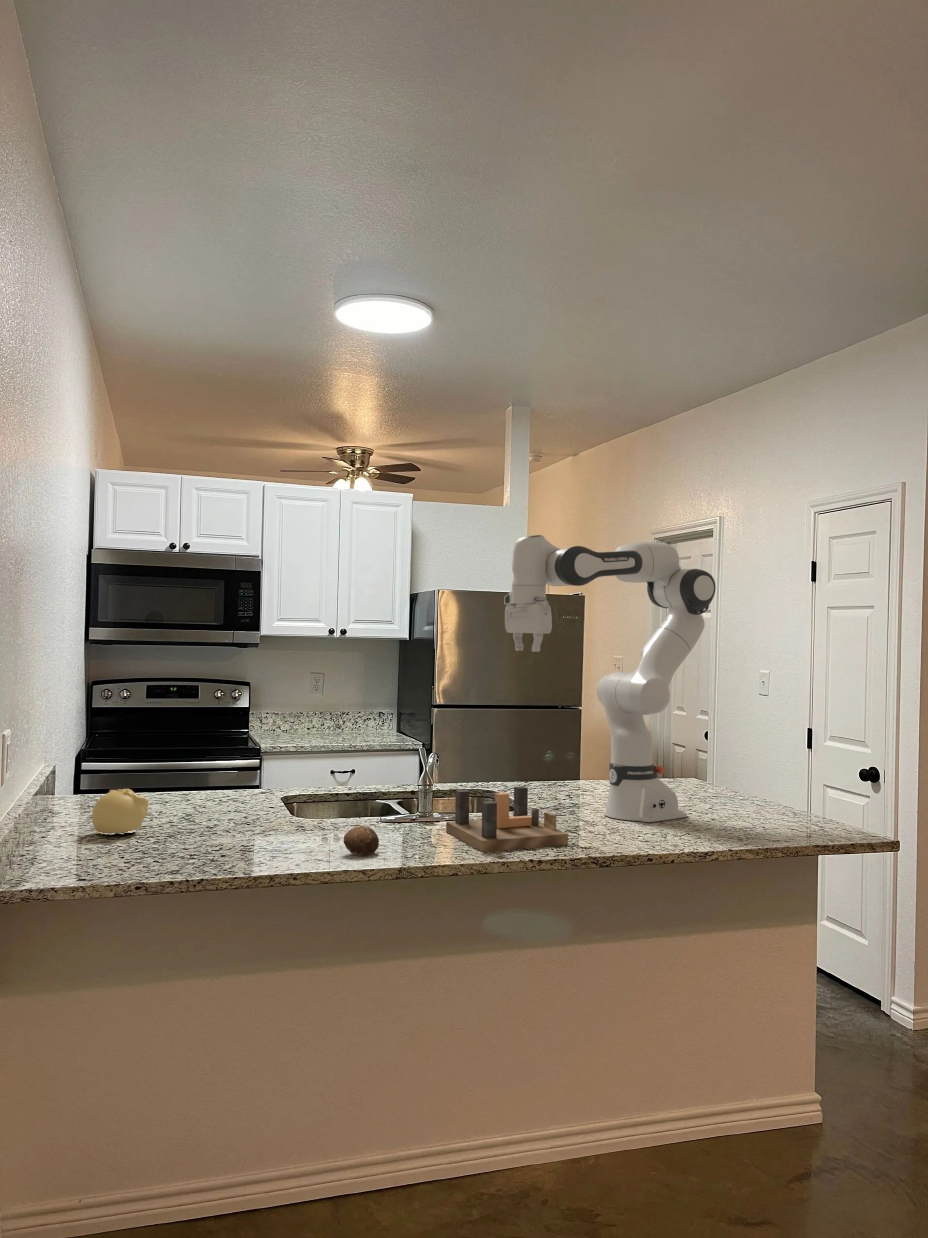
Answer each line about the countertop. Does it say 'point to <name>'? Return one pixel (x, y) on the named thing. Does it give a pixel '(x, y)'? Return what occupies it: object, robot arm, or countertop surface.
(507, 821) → the l-shaped wooden block
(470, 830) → the wooden peg board
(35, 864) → the countertop surface
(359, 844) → the brown rounded lump
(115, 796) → the sculpture
